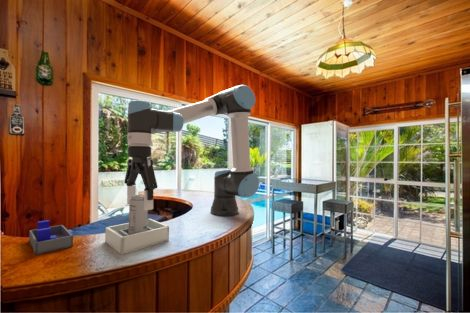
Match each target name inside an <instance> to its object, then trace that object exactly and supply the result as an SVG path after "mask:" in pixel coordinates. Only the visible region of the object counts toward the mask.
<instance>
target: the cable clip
mask: <svg viewBox="0 0 470 313" xmlns="http://www.w3.org/2000/svg"><path fill="white" fill-rule="evenodd" d="M49 227H50V220H49V219H48V220H46V219H45V220H41V221H40V220H39V221H37V229H38V232H37V242H41V241H46V240H51V239H56V235H53V236H50V228H49Z"/></svg>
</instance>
